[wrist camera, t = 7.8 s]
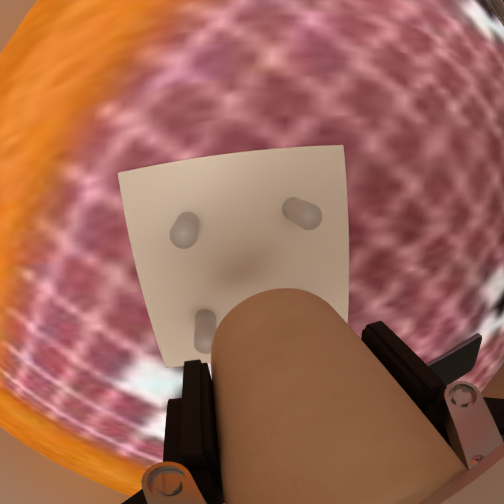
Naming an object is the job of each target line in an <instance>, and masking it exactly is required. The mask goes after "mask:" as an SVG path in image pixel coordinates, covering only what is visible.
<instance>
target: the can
mask: <svg viewBox="0 0 504 504" xmlns="http://www.w3.org/2000/svg"><path fill="white" fill-rule="evenodd" d="M488 2H489V4H490V6H491V8H492V9H493V11H494V13H495V15H496V16H497V17H498V19H499V20H500V22H501V23H502V24H503V26H504V0H488Z"/></svg>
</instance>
